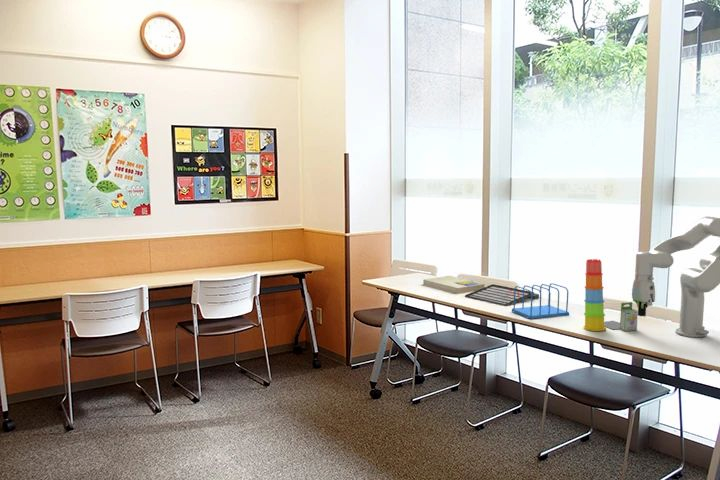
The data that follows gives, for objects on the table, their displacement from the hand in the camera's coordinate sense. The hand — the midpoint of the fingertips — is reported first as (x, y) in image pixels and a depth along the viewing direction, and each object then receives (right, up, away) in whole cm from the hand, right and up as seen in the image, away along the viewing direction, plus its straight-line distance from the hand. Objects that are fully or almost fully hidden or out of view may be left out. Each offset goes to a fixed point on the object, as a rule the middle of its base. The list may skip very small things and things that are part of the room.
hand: (641, 315), depth 273 cm
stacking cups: (-18, -8, +11) cm, 23 cm away
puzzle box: (-71, +3, +115) cm, 135 cm away
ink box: (-2, -8, +9) cm, 12 cm away
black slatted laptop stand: (-47, 0, +82) cm, 94 cm away
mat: (-6, -7, +17) cm, 19 cm away
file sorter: (-35, -5, +42) cm, 55 cm away
